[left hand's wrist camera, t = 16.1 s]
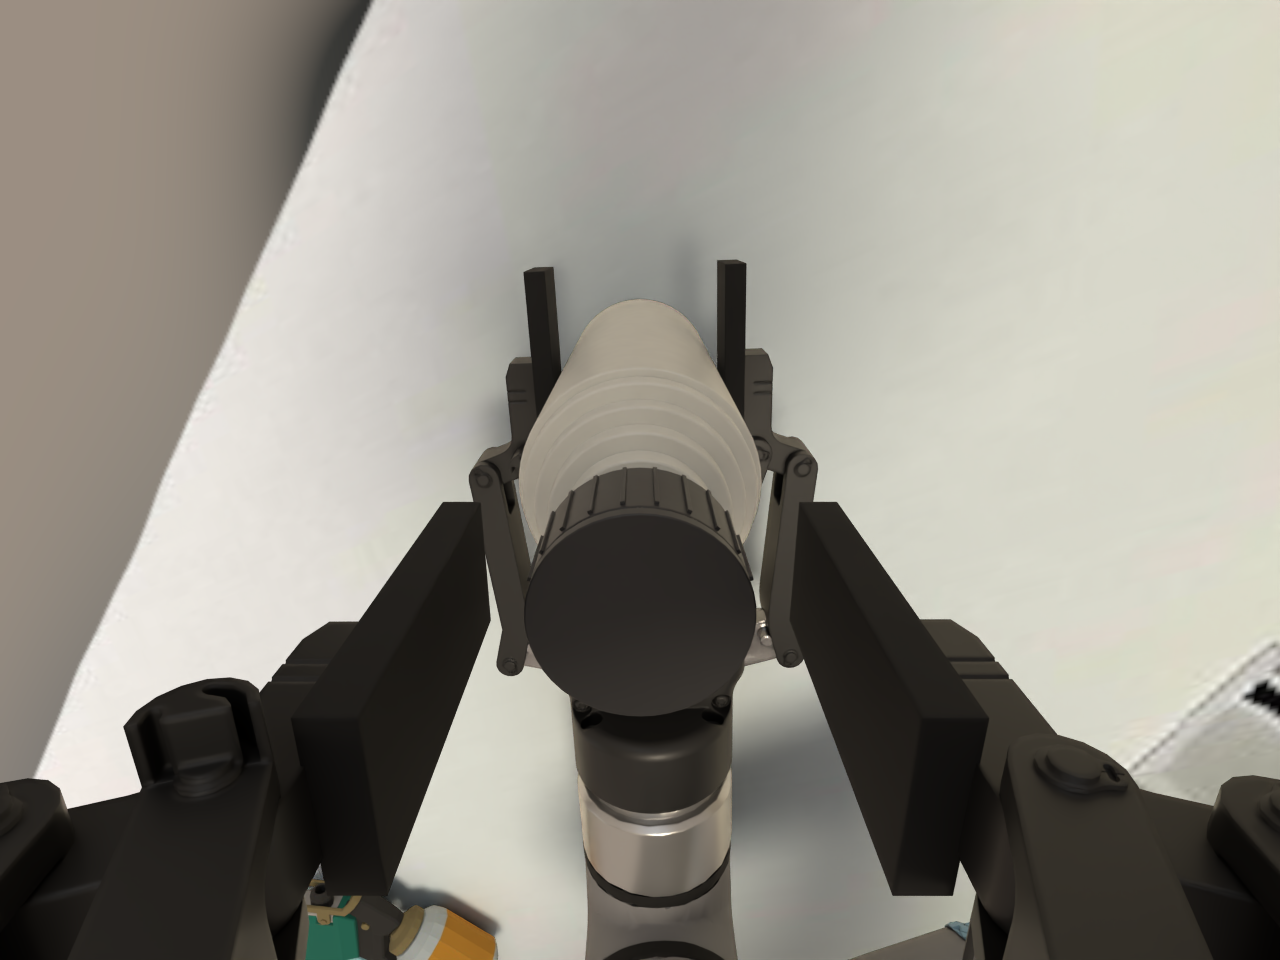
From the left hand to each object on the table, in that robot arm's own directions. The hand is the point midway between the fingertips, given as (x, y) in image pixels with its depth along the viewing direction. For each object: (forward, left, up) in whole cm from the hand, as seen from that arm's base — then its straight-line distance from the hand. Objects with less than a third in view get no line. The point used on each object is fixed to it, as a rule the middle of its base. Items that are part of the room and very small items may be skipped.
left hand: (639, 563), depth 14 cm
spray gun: (+43, +7, -21) cm, 49 cm away
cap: (0, 0, +2) cm, 2 cm away
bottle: (0, 0, -21) cm, 21 cm away
